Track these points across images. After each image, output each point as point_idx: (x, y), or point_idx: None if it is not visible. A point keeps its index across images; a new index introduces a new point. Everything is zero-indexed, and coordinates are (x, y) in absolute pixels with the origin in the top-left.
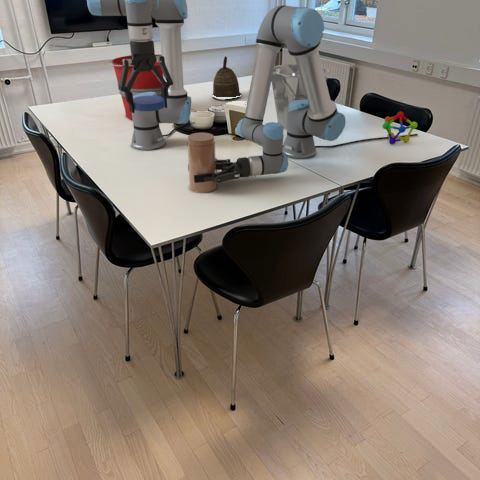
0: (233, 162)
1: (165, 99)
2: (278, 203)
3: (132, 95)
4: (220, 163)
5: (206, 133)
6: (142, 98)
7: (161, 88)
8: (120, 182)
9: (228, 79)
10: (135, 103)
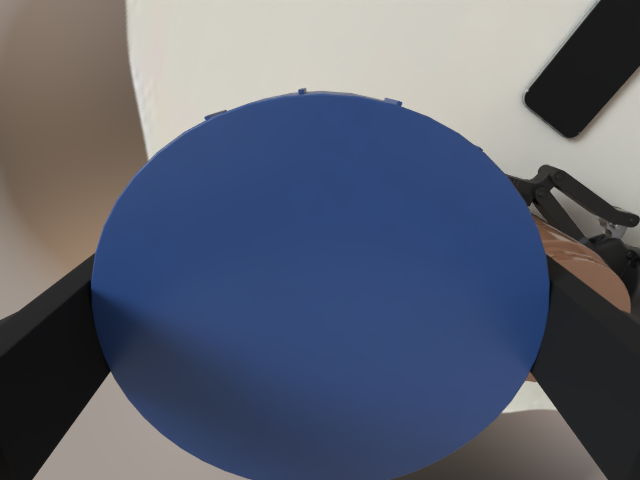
0: (623, 252)
1: (535, 364)
2: (551, 405)
3: (46, 454)
4: (576, 237)
5: (617, 297)
6: (277, 248)
7: (635, 399)
8: (210, 7)
9: None
10: (128, 394)
